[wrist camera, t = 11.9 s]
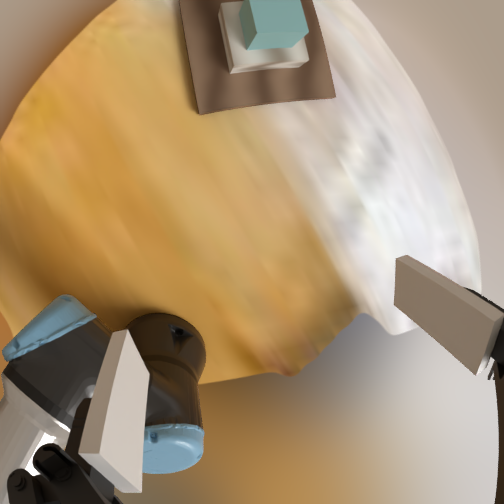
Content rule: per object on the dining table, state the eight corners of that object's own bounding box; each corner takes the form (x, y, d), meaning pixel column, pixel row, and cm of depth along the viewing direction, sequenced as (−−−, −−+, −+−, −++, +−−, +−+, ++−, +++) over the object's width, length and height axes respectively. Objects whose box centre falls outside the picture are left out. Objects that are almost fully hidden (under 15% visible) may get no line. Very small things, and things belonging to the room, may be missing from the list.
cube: (246, 50, 30) (257, 33, 25) (238, 13, 28) (247, -8, 22) (292, 47, 31) (309, 32, 25) (283, 11, 29) (297, -8, 23)
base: (199, 115, 37) (200, 109, 32) (178, 0, 30) (178, -18, 25) (331, 98, 39) (349, 93, 34) (305, -8, 32) (318, -23, 27)
